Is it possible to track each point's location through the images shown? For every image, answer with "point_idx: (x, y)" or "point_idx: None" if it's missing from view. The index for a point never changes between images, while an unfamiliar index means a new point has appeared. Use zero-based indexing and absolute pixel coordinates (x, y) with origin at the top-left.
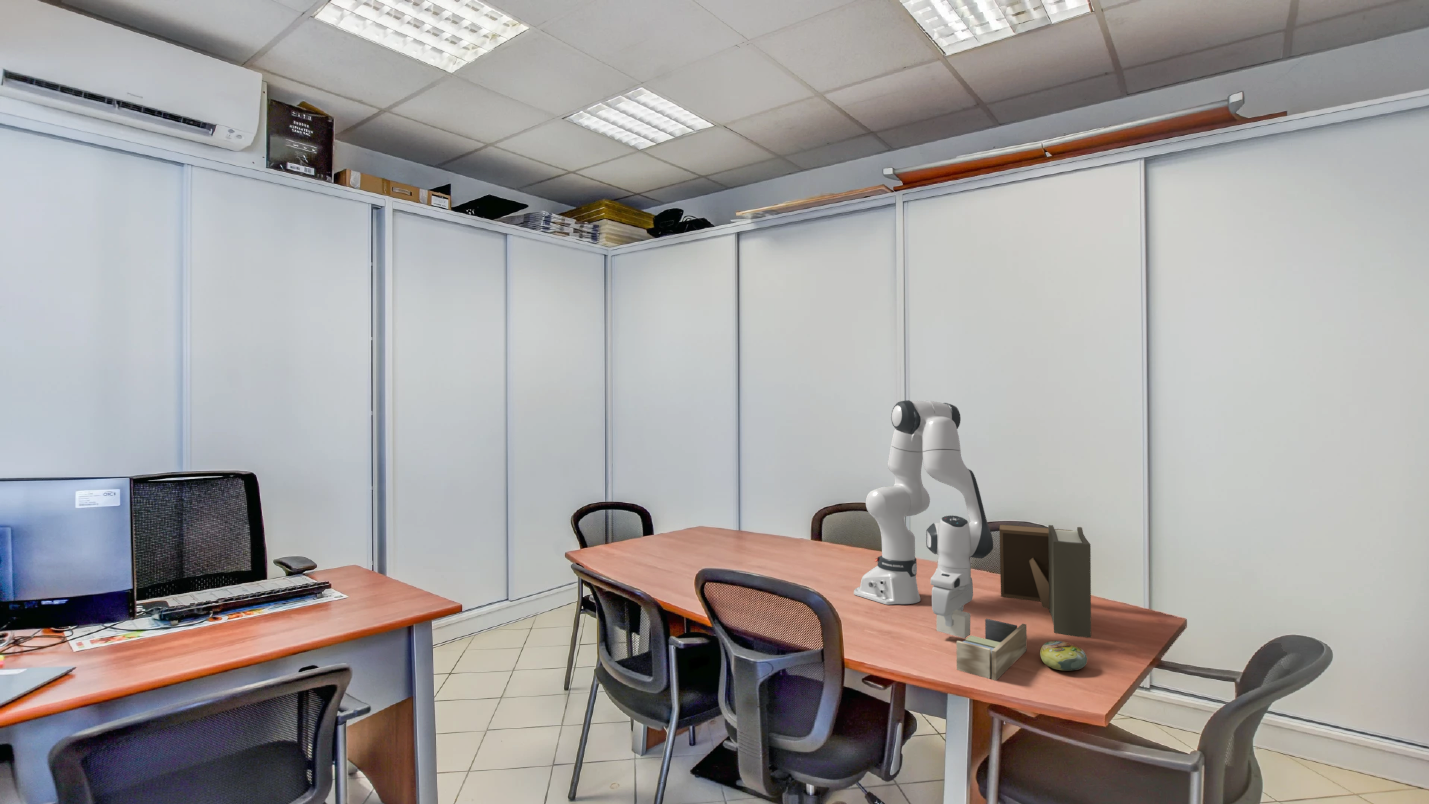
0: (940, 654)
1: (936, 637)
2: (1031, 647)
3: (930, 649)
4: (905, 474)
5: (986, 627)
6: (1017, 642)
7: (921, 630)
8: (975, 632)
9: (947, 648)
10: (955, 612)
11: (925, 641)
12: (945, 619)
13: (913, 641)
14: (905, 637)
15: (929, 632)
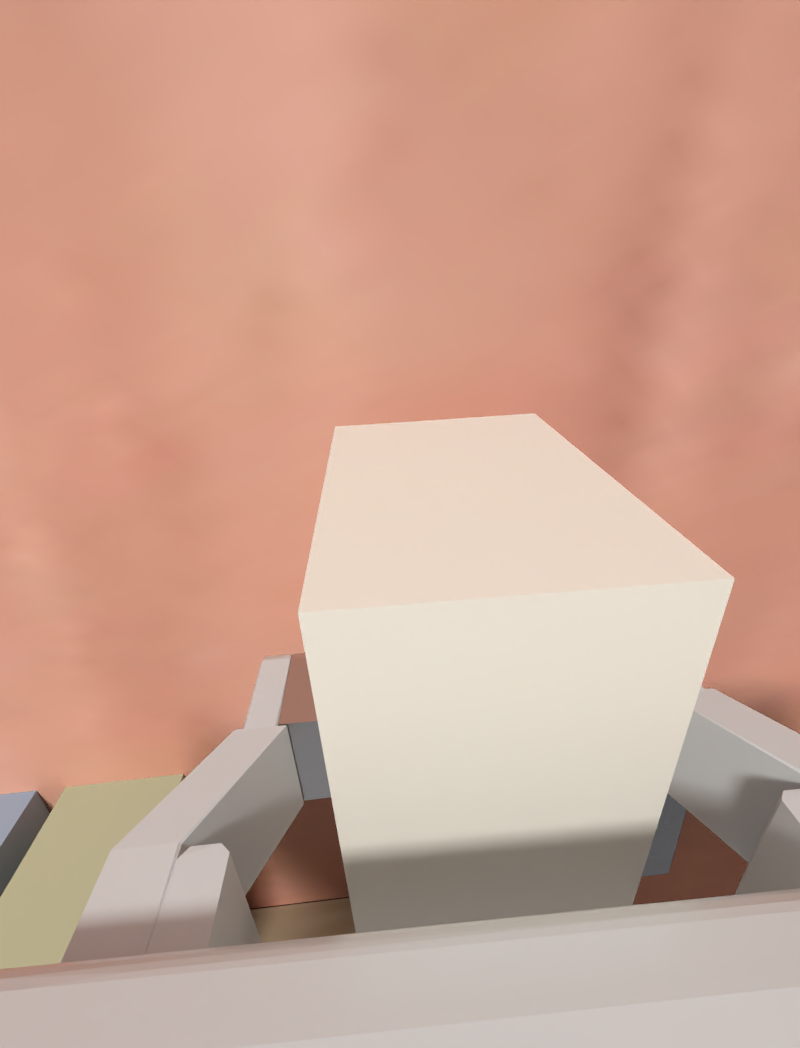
0: (5, 621)
1: (385, 376)
2: (652, 877)
3: (10, 505)
4: None
5: None
6: None
7: (492, 63)
8: (773, 577)
9: (193, 595)
10: (473, 885)
11: (159, 346)
12: (235, 735)
13: (10, 222)
14: (17, 13)
15: (490, 214)
